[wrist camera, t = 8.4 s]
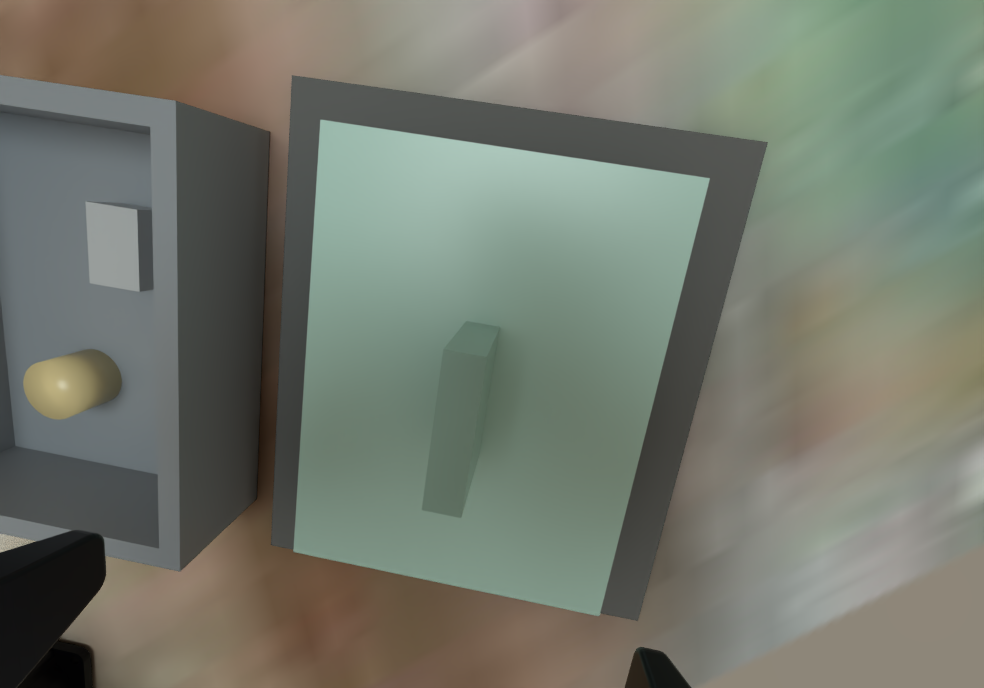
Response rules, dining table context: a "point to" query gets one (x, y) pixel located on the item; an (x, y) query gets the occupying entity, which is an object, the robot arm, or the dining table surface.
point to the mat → (554, 134)
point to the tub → (128, 318)
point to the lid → (483, 358)
